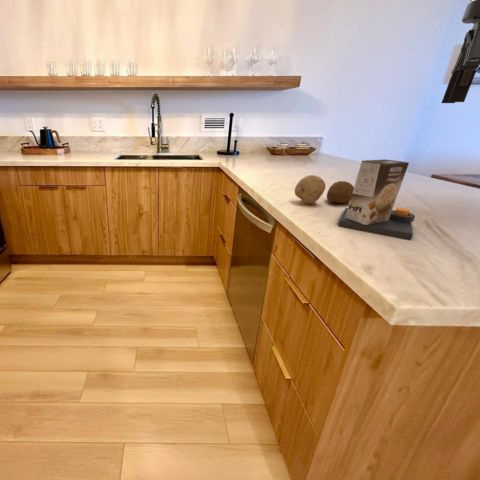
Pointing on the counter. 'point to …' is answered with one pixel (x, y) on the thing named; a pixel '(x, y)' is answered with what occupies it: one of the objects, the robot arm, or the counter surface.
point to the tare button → (402, 211)
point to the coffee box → (376, 190)
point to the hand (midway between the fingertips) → (451, 102)
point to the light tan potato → (310, 189)
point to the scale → (383, 225)
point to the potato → (340, 192)
